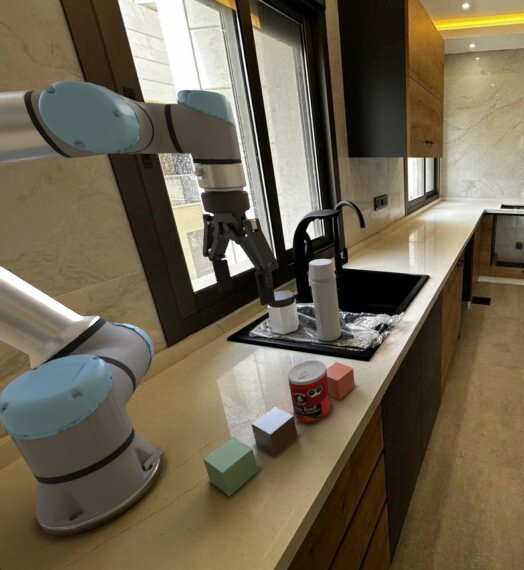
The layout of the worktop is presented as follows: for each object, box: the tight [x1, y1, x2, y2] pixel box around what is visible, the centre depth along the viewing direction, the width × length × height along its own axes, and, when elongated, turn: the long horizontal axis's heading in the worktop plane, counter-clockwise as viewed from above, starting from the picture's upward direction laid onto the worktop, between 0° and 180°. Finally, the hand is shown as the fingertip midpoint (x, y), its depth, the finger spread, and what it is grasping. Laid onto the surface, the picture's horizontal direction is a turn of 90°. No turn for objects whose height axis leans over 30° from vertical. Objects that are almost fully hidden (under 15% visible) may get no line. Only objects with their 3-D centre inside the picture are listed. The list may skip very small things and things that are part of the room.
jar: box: [267, 290, 300, 335], centre depth 107 cm, size 9×8×12 cm
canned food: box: [287, 359, 332, 424], centre depth 72 cm, size 8×8×11 cm
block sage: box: [202, 436, 259, 497], centre depth 57 cm, size 6×6×6 cm
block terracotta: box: [326, 361, 356, 400], centre depth 80 cm, size 6×6×6 cm
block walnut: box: [250, 405, 298, 457], centre depth 65 cm, size 6×6×6 cm
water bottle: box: [308, 258, 342, 342], centre depth 99 cm, size 9×8×25 cm
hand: (246, 296), depth 67 cm, fingers open, 13 cm apart
